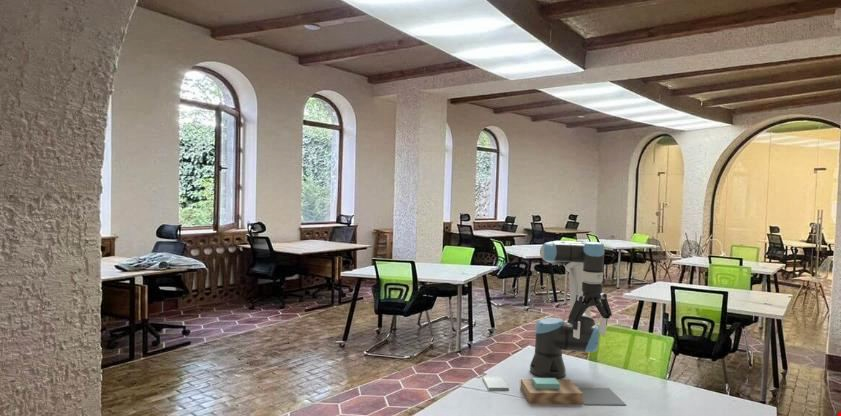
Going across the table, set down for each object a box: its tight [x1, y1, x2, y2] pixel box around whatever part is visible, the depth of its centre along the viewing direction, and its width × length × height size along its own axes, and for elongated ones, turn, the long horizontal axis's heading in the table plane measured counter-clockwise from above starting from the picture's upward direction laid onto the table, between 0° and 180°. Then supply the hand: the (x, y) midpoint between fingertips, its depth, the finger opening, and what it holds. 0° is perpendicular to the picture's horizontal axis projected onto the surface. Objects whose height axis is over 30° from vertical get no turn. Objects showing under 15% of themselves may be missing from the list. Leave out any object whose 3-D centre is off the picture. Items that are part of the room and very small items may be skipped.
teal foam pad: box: [531, 377, 560, 389], centre depth 205 cm, size 9×6×2 cm, turn 93°
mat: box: [577, 387, 627, 406], centre depth 207 cm, size 16×16×1 cm
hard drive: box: [482, 376, 510, 391], centre depth 216 cm, size 2×8×12 cm
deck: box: [519, 378, 583, 405], centre depth 205 cm, size 20×14×4 cm
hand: (589, 336), depth 207 cm, fingers open, 13 cm apart
